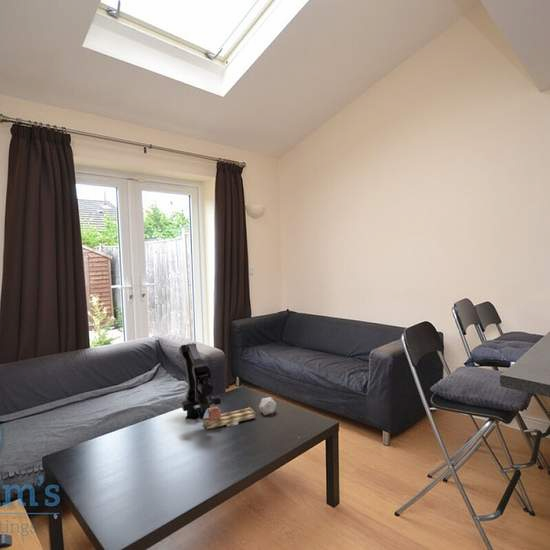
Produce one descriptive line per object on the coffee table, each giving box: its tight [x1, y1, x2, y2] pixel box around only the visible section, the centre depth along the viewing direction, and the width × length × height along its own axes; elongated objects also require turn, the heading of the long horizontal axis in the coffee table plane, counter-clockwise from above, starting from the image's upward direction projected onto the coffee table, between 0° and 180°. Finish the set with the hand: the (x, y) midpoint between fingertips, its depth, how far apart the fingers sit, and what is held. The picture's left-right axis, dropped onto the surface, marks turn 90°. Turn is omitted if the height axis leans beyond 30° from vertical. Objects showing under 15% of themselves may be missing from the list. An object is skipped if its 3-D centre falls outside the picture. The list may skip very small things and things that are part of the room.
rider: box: [207, 406, 222, 421], centre depth 183 cm, size 5×6×5 cm
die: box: [258, 396, 277, 416], centre depth 196 cm, size 8×9×10 cm
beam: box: [202, 406, 256, 430], centre depth 187 cm, size 26×10×4 cm, turn 117°
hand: (201, 419), depth 180 cm, fingers closed
